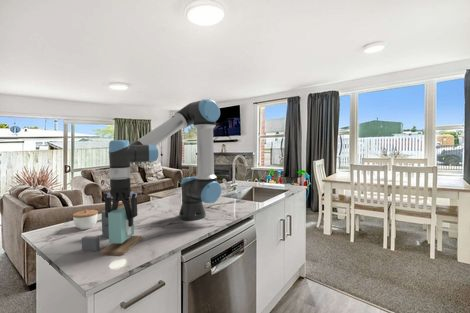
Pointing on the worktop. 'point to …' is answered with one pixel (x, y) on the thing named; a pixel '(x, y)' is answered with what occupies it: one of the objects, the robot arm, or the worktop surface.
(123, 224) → the block
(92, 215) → the lidded jar
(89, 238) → the module cradle
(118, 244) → the walnut board
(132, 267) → the worktop surface
